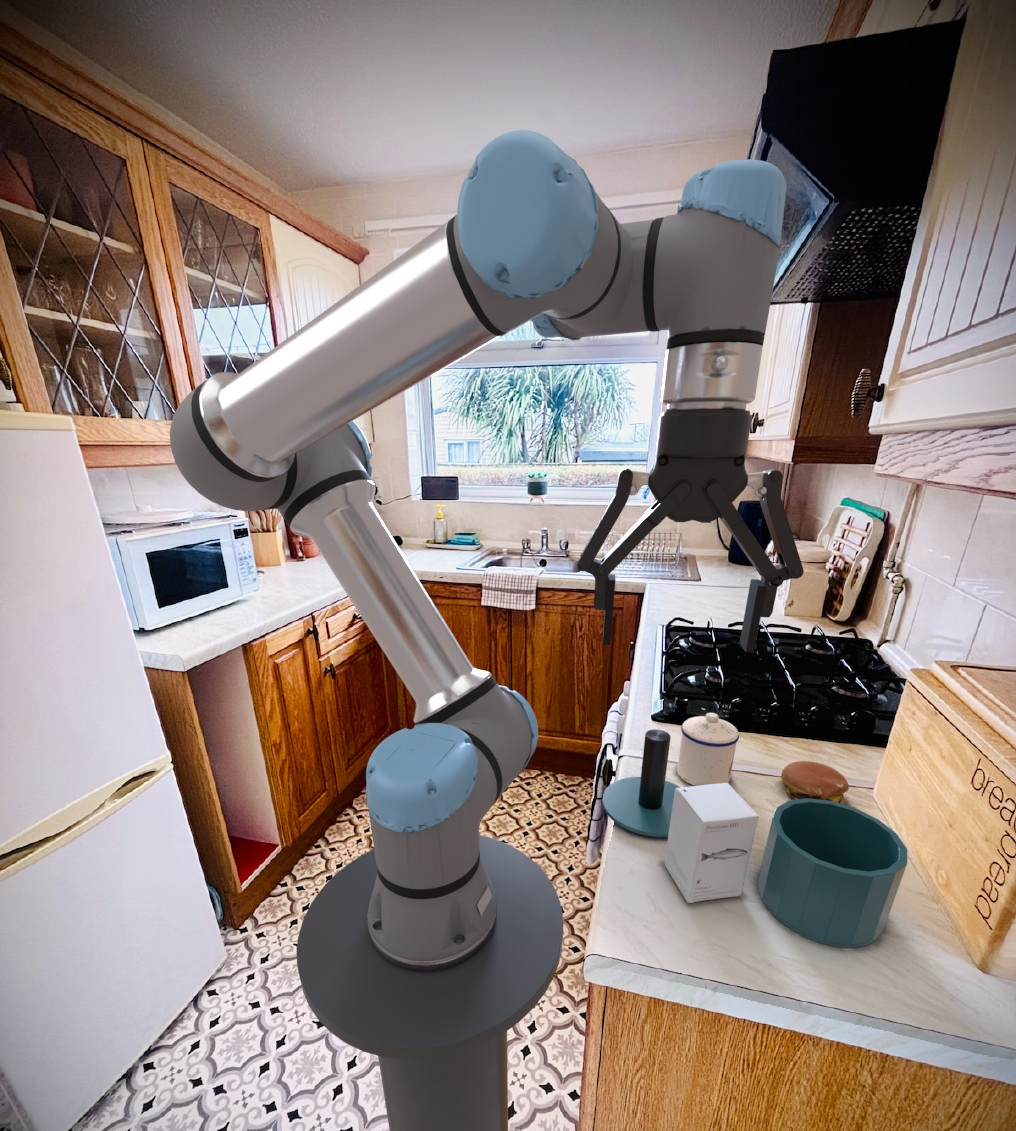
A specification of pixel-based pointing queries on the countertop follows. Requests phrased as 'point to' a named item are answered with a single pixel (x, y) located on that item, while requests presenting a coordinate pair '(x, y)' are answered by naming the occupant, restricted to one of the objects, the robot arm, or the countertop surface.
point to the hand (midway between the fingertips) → (675, 644)
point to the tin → (831, 872)
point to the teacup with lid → (707, 750)
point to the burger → (814, 782)
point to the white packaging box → (709, 841)
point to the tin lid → (644, 792)
